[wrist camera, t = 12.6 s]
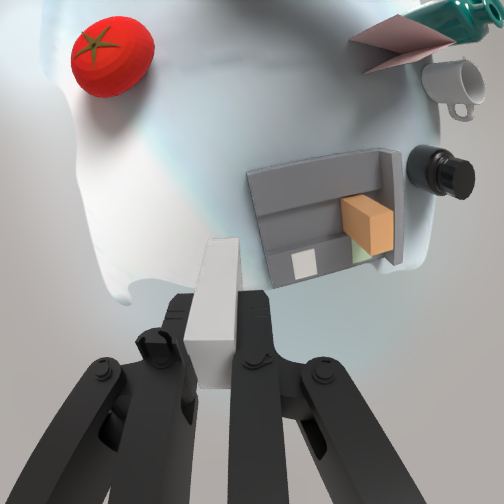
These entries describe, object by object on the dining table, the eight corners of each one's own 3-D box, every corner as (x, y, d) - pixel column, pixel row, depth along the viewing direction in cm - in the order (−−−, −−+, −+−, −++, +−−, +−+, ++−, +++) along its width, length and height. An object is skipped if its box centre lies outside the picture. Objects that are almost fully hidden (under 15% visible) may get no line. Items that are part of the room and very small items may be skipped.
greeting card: (401, 49, 33) (455, 37, 19) (404, 84, 36) (461, 80, 23) (348, 35, 32) (396, 9, 18) (351, 72, 35) (404, 57, 22)
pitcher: (418, 54, 33) (504, 43, 13) (391, 20, 30) (472, -8, 10) (438, 38, 31) (516, 28, 11) (414, 6, 28) (488, -17, 8)
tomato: (108, 30, 27) (75, 6, 16) (172, 35, 30) (156, 4, 18) (84, 97, 32) (42, 92, 20) (147, 105, 34) (118, 97, 23)
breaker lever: (343, 230, 45) (370, 256, 36) (340, 197, 43) (369, 217, 34) (363, 225, 45) (393, 249, 36) (360, 193, 43) (393, 211, 34)
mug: (416, 62, 34) (454, 57, 24) (443, 65, 34) (480, 62, 24) (429, 120, 39) (468, 125, 29) (454, 118, 39) (492, 123, 29)
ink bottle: (432, 192, 46) (472, 211, 35) (402, 186, 45) (443, 205, 34) (439, 147, 42) (481, 158, 31) (409, 137, 41) (453, 145, 30)
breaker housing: (270, 279, 50) (277, 300, 44) (246, 172, 41) (250, 179, 35) (385, 248, 50) (402, 262, 44) (379, 147, 41) (401, 152, 35)
